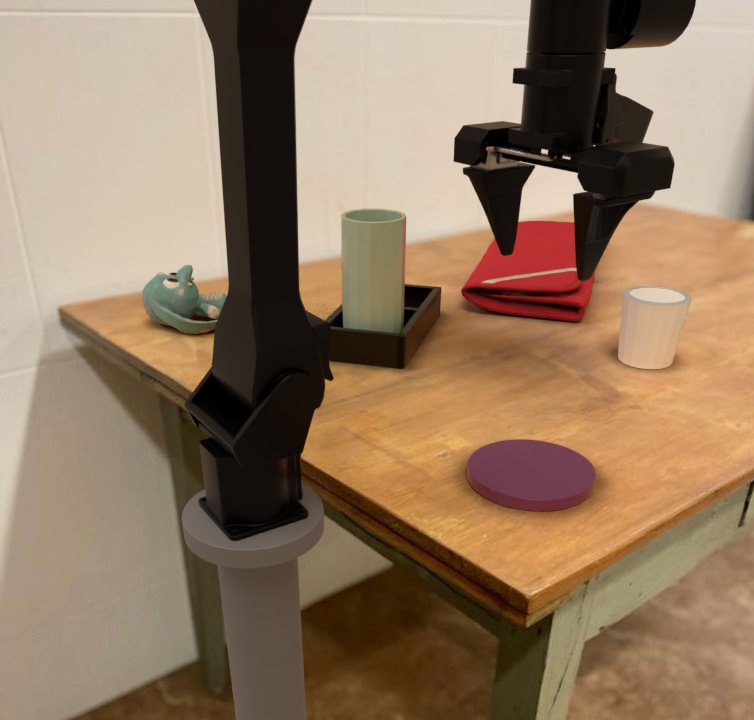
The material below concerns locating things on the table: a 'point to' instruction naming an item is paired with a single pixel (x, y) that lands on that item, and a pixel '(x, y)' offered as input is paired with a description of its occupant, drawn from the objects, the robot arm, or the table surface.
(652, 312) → the white cup
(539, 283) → the dish drying mat
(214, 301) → the stuffed animal
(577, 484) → the lid
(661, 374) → the table surface
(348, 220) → the tumbler
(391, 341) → the compartment tray
